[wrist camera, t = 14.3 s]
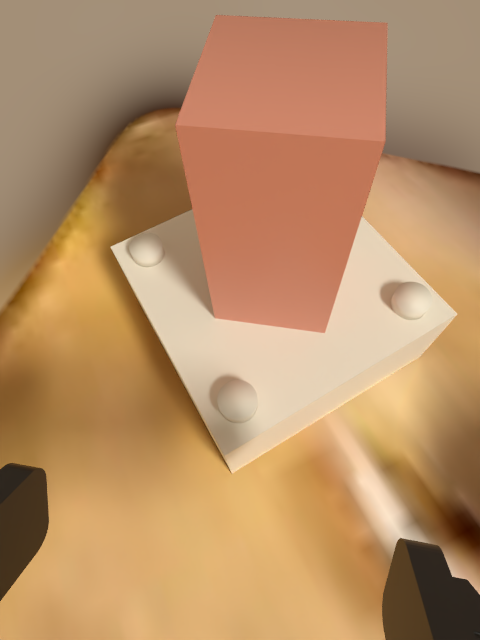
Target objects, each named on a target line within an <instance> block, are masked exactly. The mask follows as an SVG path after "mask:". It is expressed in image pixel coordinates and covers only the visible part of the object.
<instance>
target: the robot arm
mask: <svg viewBox="0 0 480 640" xmlns="http://www.w3.org/2000/svg"><path fill="white" fill-rule="evenodd" d="M48 524H49V516H48V498H47V481H46V473H45V471H44V470H43V469H41V468H36V467H31V466H25V465H20V464H15V463H10V464H7V465H5V466H4V467H3V468H2V469H0V601H1V600H2V598H3V597H4V596H5V594H6V593H7V592H8V590H9V589H10V588H11V586H12V585H13V584H14V582H15V581H16V580H17V578H18V577H19V576H20V574H21V573H22V572H23V570H24V569H25V568H26V566H27V565H28V564H29V562H30V561H31V560H32V558H33V557H34V556H35V554H36V553H37V552H38V550H39V549H40V547H41V545H42V543H43V541H44V539H45V536H46V533H47V530H48ZM382 617H383V627H384V633H385V638H386V640H480V595H479V594H478V592H477V591H476V590H475V589H474V587H473V586H472V585H471V584H470V583H469V581H468V580H465V579H460V578H455V577H452V575H451V572H450V570H449V567H448V565H447V562H446V559H445V557H444V554H443V552H442V550H441V548H440V547H439V546H437V545H433V544H428V543H423V542H418V541H412V540H407V539H402V538H400V539H399V540H398V542H397V544H396V548H395V551H394V555H393V559H392V563H391V566H390V570H389V574H388V578H387V581H386V585H385V589H384V593H383V603H382Z"/></svg>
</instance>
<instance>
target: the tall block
mask: <svg viewBox="0 0 480 640" xmlns="http://www.w3.org/2000/svg"><path fill="white" fill-rule="evenodd" d="M386 80H387V23H379V22H354V21H335V20H313V19H291V18H270V17H269V18H268V17H248V16H225V15H224V16H223V15H216V16H215V19H214V22H213V25H212V27H211V30H210V32H209V35H208V38H207V41H206V43H205V46H204V49H203V51H202V54H201V57H200V59H199V62H198V65H197V68H196V70H195V73H194V76H193V78H192V81H191V84H190V86H189V89H188V92H187V94H186V97H185V100H184V102H183V105H182V108H181V111H180V113H179V116H178V119H177V121H176V124H175V127H176V132H177V136H178V141H179V146H180V151H181V156H182V161H183V166H184V170H185V175H186V180H187V185H188V190H189V195H190V200H191V204H192V209H193V214H194V219H195V224H196V229H197V234H198V238H199V243H200V248H201V253H202V258H203V263H204V268H205V272H206V277H207V282H208V287H209V292H210V297H211V302H212V307H213V311H214V316H215V318H216V319H224V320H231V321H239V322H246V323H253V324H261V325H268V326H275V327H283V328H290V329H298V330H305V331H312V332H320V333H325V331H326V328H327V325H328V322H329V318H330V315H331V312H332V309H333V306H334V303H335V300H336V296H337V293H338V290H339V287H340V284H341V281H342V277H343V274H344V271H345V268H346V265H347V262H348V258H349V255H350V252H351V249H352V246H353V243H354V239H355V236H356V233H357V230H358V227H359V224H360V220H361V217H362V214H363V211H364V208H365V205H366V202H367V198H368V195H369V192H370V189H371V186H372V183H373V179H374V176H375V173H376V170H377V167H378V164H379V160H380V157H381V154H382V151H383V147H384V145H385V139H386Z"/></svg>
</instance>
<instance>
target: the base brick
mask: <svg viewBox="0 0 480 640" xmlns="http://www.w3.org/2000/svg"><path fill="white" fill-rule="evenodd" d="M111 249H112V251H113V253H114V255H115V257H116V259H117V261H118V263H119V265H120V267H121V269H122V271H123V272H124V274H125V276H126V278H127V280H128V282H129V284H130V286H131V288H132V290H133V292H134V294H135V296H136V298H137V300H138V301H139V303H140V305H141V307H142V309H143V311H144V312H145V314H146V316H147V318H148V320H149V322H150V324H151V325H152V327H153V329H154V331H155V333H156V335H157V336H158V338H159V340H160V342H161V344H162V346H163V347H164V349H165V351H166V353H167V355H168V357H169V359H170V360H171V362H172V364H173V366H174V368H175V370H176V371H177V373H178V375H179V377H180V379H181V381H182V383H183V384H184V386H185V388H186V390H187V392H188V394H189V395H190V397H191V399H192V401H193V403H194V405H195V406H196V408H197V410H198V412H199V414H200V416H201V418H202V419H203V421H204V423H205V425H206V427H207V429H208V430H209V432H210V434H211V436H212V438H213V440H214V441H215V443H216V445H217V447H218V449H219V451H220V453H221V454H222V456H223V458H224V460H225V462H226V464H227V465H228V467H229V469H230V471H231V473H234V472H235V471H237V470H239V469H240V468H242V467H243V466H245V465H247V464H248V463H250V462H252V461H253V460H255V459H256V458H258V457H260V456H261V455H263V454H264V453H266V452H268V451H269V450H271V449H273V448H274V447H276V446H277V445H279V444H281V443H282V442H284V441H285V440H287V439H289V438H290V437H292V436H293V435H295V434H297V433H298V432H300V431H302V430H303V429H305V428H306V427H308V426H310V425H311V424H313V423H314V422H316V421H318V420H319V419H321V418H322V417H324V416H326V415H327V414H329V413H331V412H332V411H334V410H335V409H337V408H339V407H340V406H342V405H343V404H345V403H347V402H348V401H350V400H351V399H353V398H355V397H356V396H358V395H360V394H361V393H363V392H364V391H366V390H368V389H369V388H371V387H372V386H374V385H376V384H377V383H379V382H380V381H382V380H384V379H385V378H387V377H389V376H390V375H392V374H393V373H395V372H397V371H398V370H400V369H401V368H403V367H405V366H406V365H408V364H409V363H411V362H413V361H414V360H416V359H418V358H419V357H420V356H421V355H422V354H423V353H424V352H425V350H426V349H427V348H428V347H429V346H430V345H431V344H432V342H433V341H434V340H435V339H436V338H437V337H438V336H439V335H440V333H441V332H442V331H443V330H444V329H445V328H446V327H447V325H448V324H449V323H450V322H451V321H452V320H453V319H454V317H455V316H456V315H457V313H456V312H455V311H454V310H453V309H452V308H451V307H450V306H449V305H448V304H447V303H446V302H445V301H444V300H443V299H442V298H441V297H440V296H439V295H438V294H437V293H436V292H435V291H434V290H433V289H432V288H431V287H430V285H429V284H428V283H427V282H426V281H425V280H424V279H423V278H422V277H421V276H420V275H419V274H418V273H417V272H416V271H415V270H414V269H413V268H412V267H411V266H410V265H409V264H408V263H407V262H406V261H405V260H404V259H403V258H402V257H401V256H400V255H399V254H398V253H397V252H396V251H395V250H394V249H393V247H392V246H391V245H390V244H389V243H388V242H387V241H386V240H385V239H384V238H383V237H382V236H381V235H380V234H379V233H378V232H377V231H376V230H375V229H374V228H373V227H372V226H371V225H370V224H369V223H368V222H367V221H366V220H365V219H364V218H363V217H361V220H360V224H359V227H358V230H357V233H356V236H355V239H354V243H353V246H352V249H351V252H350V255H349V258H348V262H347V265H346V268H345V271H344V274H343V277H342V281H341V284H340V287H339V290H338V293H337V296H336V300H335V303H334V306H333V309H332V312H331V315H330V318H329V322H328V325H327V328H326V331H325V333H320V332H312V331H305V330H298V329H290V328H283V327H275V326H268V325H261V324H253V323H246V322H239V321H231V320H224V319H216V318H215V316H214V311H213V307H212V302H211V297H210V292H209V287H208V282H207V277H206V272H205V268H204V263H203V258H202V253H201V248H200V243H199V238H198V234H197V229H196V224H195V219H194V214H193V209H191V210H189V211H187V212H185V213H183V214H181V215H178V216H176V217H174V218H172V219H170V220H168V221H165V222H163V223H161V224H159V225H157V226H154V227H152V228H150V229H148V230H146V231H144V232H141V233H139V234H137V235H135V236H133V237H131V238H128V239H126V240H124V241H122V242H120V243H117V244H115V245H113V246H111Z"/></svg>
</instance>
